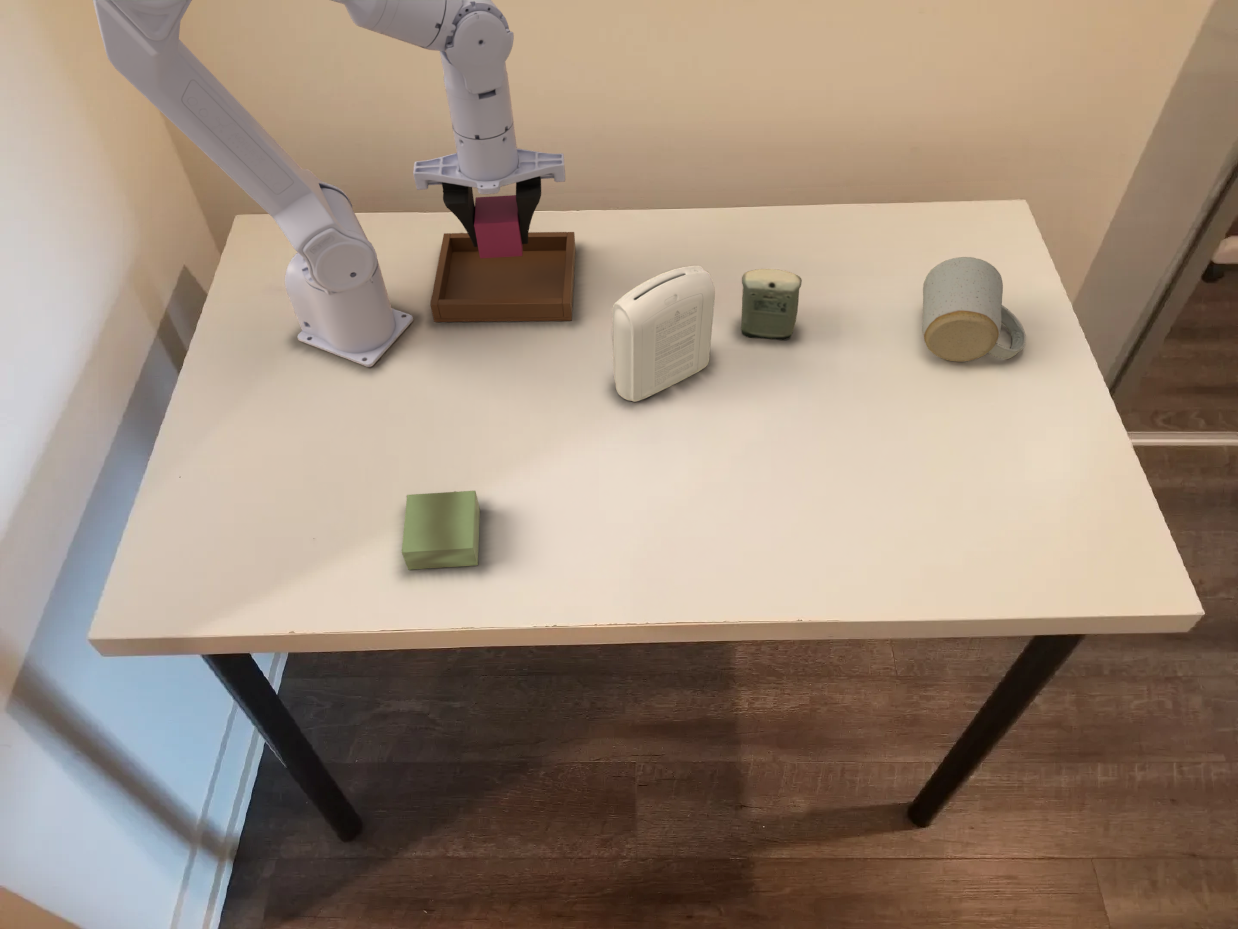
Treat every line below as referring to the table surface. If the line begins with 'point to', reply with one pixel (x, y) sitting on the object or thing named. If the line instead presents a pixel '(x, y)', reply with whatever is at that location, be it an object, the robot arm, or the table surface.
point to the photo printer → (662, 331)
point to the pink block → (497, 227)
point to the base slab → (441, 530)
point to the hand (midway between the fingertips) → (500, 239)
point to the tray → (505, 281)
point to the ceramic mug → (967, 311)
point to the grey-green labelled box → (769, 303)
